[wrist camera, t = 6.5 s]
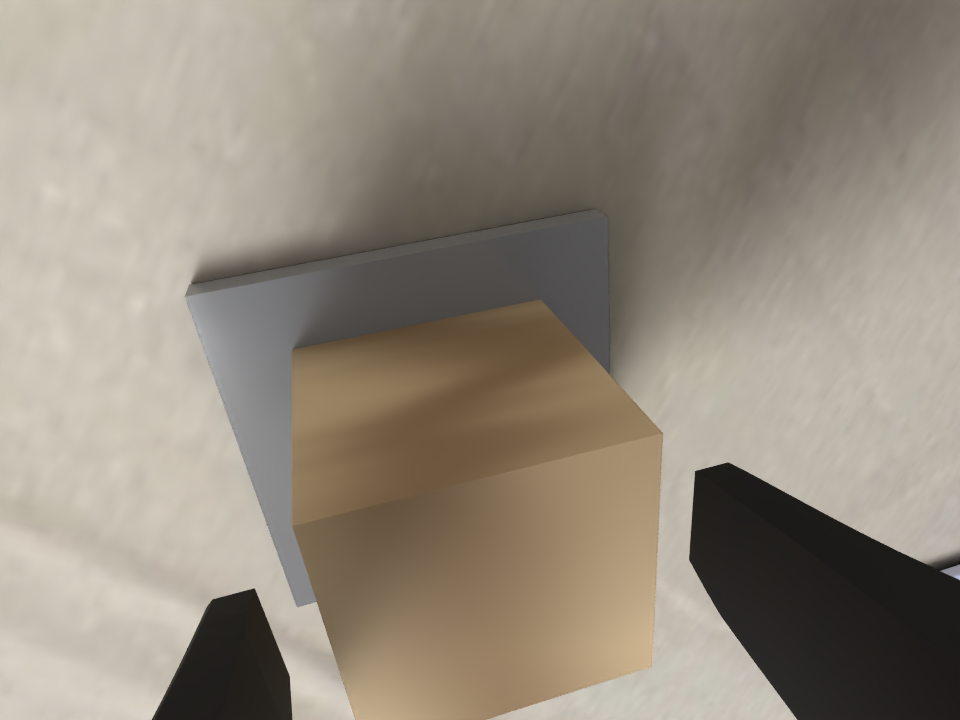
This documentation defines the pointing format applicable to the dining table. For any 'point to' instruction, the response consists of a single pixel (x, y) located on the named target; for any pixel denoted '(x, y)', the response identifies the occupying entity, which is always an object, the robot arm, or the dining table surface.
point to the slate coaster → (380, 325)
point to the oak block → (474, 514)
